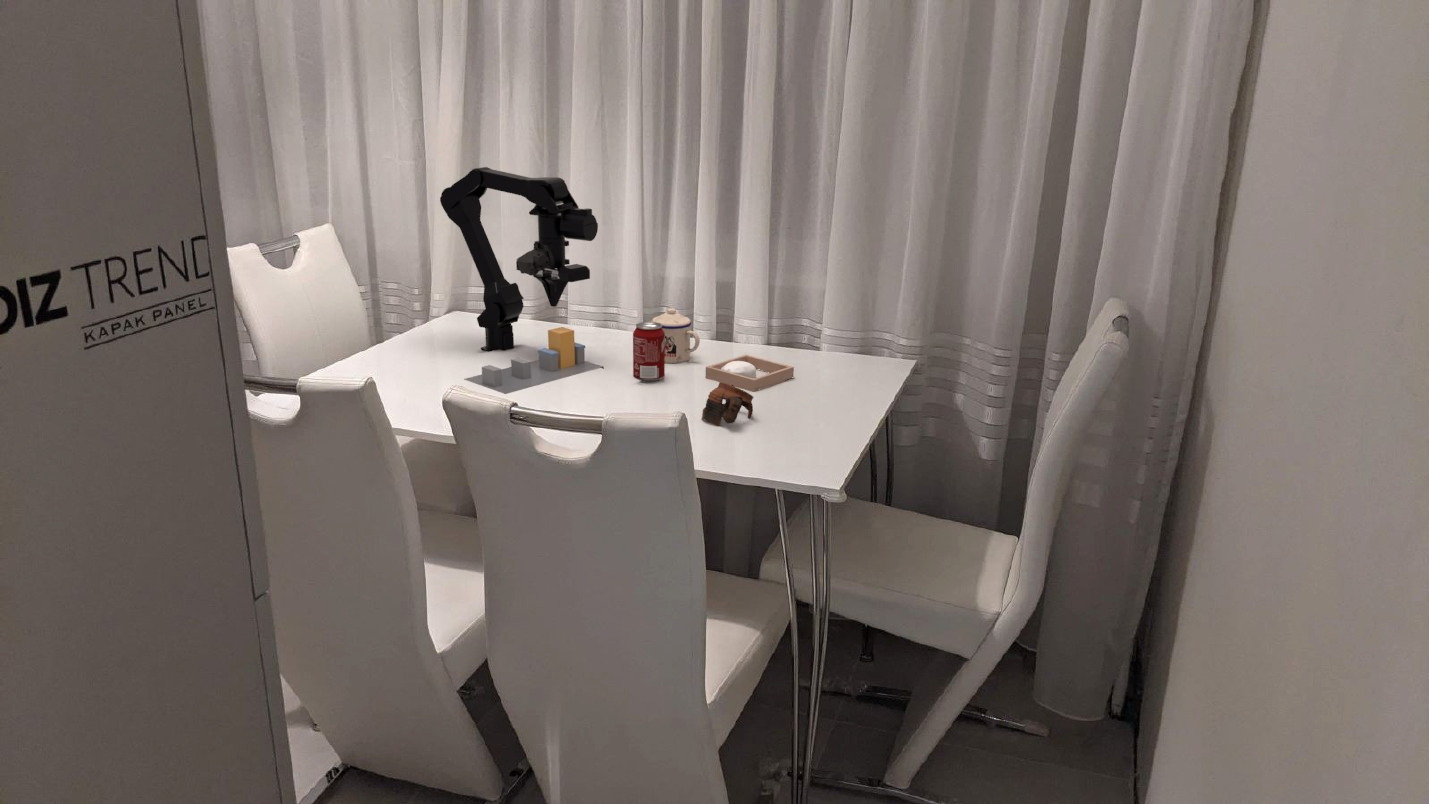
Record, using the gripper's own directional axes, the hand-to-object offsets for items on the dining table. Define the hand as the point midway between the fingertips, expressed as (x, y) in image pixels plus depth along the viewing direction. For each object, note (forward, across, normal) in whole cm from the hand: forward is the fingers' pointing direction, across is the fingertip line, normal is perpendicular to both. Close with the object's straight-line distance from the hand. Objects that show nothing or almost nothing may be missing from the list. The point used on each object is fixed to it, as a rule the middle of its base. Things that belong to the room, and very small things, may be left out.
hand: (553, 306), depth 238 cm
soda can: (+13, +25, +5) cm, 28 cm away
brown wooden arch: (+13, +54, -3) cm, 56 cm away
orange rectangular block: (+12, +7, -4) cm, 14 cm away
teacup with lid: (+13, +19, +20) cm, 30 cm away
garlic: (+13, +38, +19) cm, 45 cm away
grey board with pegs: (+12, +7, -12) cm, 18 cm away
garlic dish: (+12, +40, +21) cm, 47 cm away
